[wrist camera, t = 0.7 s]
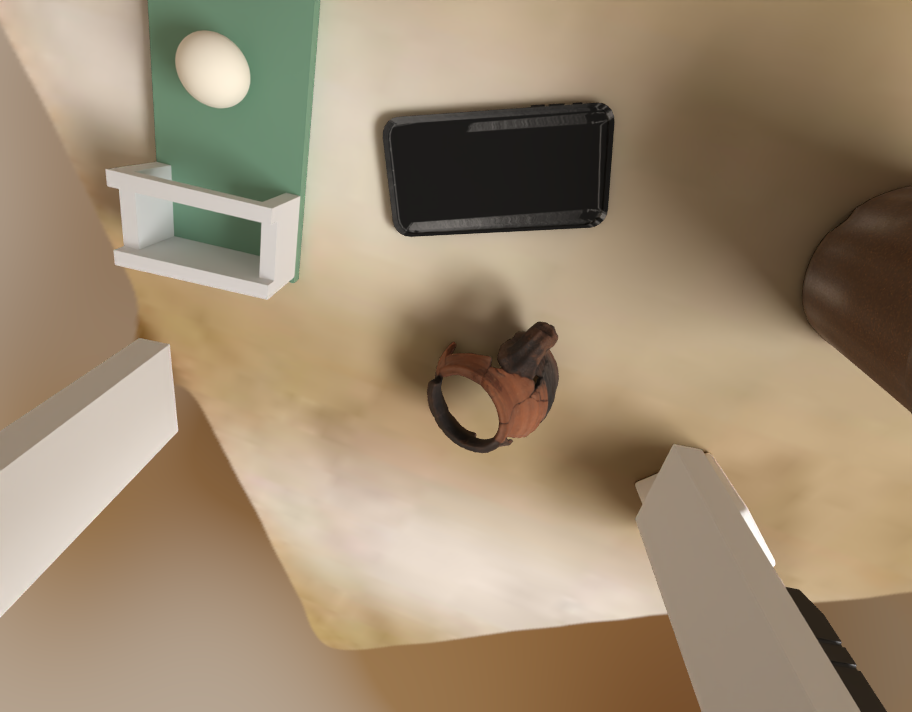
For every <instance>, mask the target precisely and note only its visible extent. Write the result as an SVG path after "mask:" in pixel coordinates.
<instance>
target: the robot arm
mask: <svg viewBox="0 0 912 712" xmlns="http://www.w3.org/2000/svg"><path fill="white" fill-rule="evenodd" d="M177 425H178V424H177V415H176V404H175V395H174V384H173V374H172V364H171V354H170V344H166V343H161V342H156V341H151V340H146V339H141V338H139V339H137V340H136V341H134V342H133V343H131V344H130V345H128V346H127V347H125V348H124V349H122V350H121V351H119V352H118V353H116V354H115V355H113V356H112V357H111V358H109V359H107V360H106V361H104V362H103V363H101V364H100V365H98V366H97V367H95V368H94V369H92V370H91V371H89V372H88V373H86V374H85V375H83V376H82V377H80V378H79V379H77V380H76V381H74V382H73V383H71V384H70V385H68V386H67V387H65V388H64V389H62V390H61V391H60V392H58V393H57V394H55V395H53V396H52V397H50V398H49V399H47V400H46V401H44V402H43V403H42V404H40V405H38V406H37V407H36V408H34V409H32V410H31V411H29V412H28V413H26V414H25V415H23V416H22V417H21V418H19V419H18V420H16V421H14V422H13V423H11V424H10V425H8V426H7V427H6V428H4V429H2V430H1V431H0V617H1V616H2V615H3V614H4V613H5V612H6V611H7V610H8V609H9V608H10V607H11V606H12V605H13V604H14V603H15V601H16V600H17V599H18V598H19V597H20V596H21V595H22V594H23V593H24V592H25V591H26V590H27V589H28V588H29V587H30V586H31V585H32V584H33V583H34V582H35V580H37V578H38V577H39V576H40V575H41V574H42V573H43V572H44V571H45V570H46V569H47V568H48V567H49V566H50V565H51V564H52V563H53V562H54V561H55V560H56V558H58V556H59V555H60V554H61V553H62V552H63V551H64V550H65V549H66V548H67V547H68V546H69V545H70V544H71V543H72V542H73V541H74V540H75V539H76V538H77V537H78V535H79V534H80V533H81V532H82V531H83V530H84V529H85V528H86V527H87V526H88V525H89V524H90V523H91V522H92V521H93V520H94V519H95V518H96V517H97V515H99V514H100V512H101V511H102V510H103V509H104V508H105V507H106V506H107V505H108V504H109V503H110V502H111V501H112V500H113V499H114V498H115V497H116V496H117V495H118V494H119V493H120V491H121V490H122V489H123V488H124V487H125V486H126V485H127V484H128V483H129V482H130V481H131V480H132V479H133V478H134V477H135V476H136V474H138V473H139V472H140V471H141V469H142V468H143V467H144V466H145V465H146V464H147V463H148V462H149V461H150V460H151V459H152V458H153V457H154V456H155V455H156V454H157V453H158V452H159V451H160V449H162V447H163V446H164V445H165V444H166V443H167V442H168V441H169V440H170V439H171V438H172V437H173V436H174V435H175V434H176V433H177V432H178V426H177ZM635 520H636V523H637V526H638V529H639V531H640V534H641V537H642V540H643V543H644V546H645V549H646V552H647V555H648V558H649V560H650V563H651V566H652V569H653V572H654V575H655V578H656V581H657V584H658V587H659V589H660V592H661V595H662V598H663V601H664V604H665V607H666V610H667V613H668V616H669V618H670V621H671V624H672V627H673V630H674V633H675V636H676V638H677V642H678V644H679V647H680V650H681V653H682V656H683V659H684V662H685V665H686V667H687V671H688V673H689V676H690V679H691V682H692V685H693V688H694V691H695V693H696V697H697V699H698V702H699V705H700V708H701V711H702V712H887V711H886V710H885V708H884V707H883V705H882V704H881V702H880V700H879V699H878V697H877V696H876V694H875V693H874V691H873V690H872V688H871V687H870V685H869V684H868V682H867V680H866V679H865V677H864V676H863V674H862V673H861V671H858V670H857V669H856V664H855V662H854V660H853V659H852V658H851V656H850V654H849V653H848V651H847V650H846V648H844V647H842V646H841V640H840V639H839V637H838V636H837V634H836V633H835V631H834V630H833V628H832V627H831V625H830V623H829V622H828V620H827V619H826V617H825V616H824V614H823V613H821V611H820V610H819V609H818V608H816V606H815V605H814V604H813V603H812V602H811V601H810V600H809V599H808V598H807V597H806V596H805V595H804V594H803V593H802V592H801V591H800V590H798V589H793V588H788V587H785V586H784V584H783V583H782V581H781V579H780V578H779V576H778V574H777V573H776V571H775V569H774V568H773V566H772V564H771V563H770V561H769V560H768V558H767V556H766V555H765V553H764V551H763V550H762V548H761V546H760V545H759V543H758V541H757V540H756V538H755V536H754V535H753V533H752V531H751V530H750V528H749V527H748V525H747V523H746V522H745V520H744V518H743V517H742V515H741V513H740V512H739V510H738V508H737V507H736V505H735V503H734V502H733V500H732V498H731V497H730V495H729V494H728V492H727V490H726V489H725V487H724V485H723V484H722V482H721V480H720V479H719V477H718V475H717V474H716V472H715V470H714V469H713V467H712V466H711V464H710V462H709V461H708V459H707V457H706V456H705V454H704V452H703V451H702V449H697V448H692V447H687V446H682V445H677V444H673V446H672V448H671V450H670V452H669V453H668V455H667V457H666V459H665V461H664V463H663V465H662V467H661V469H660V471H659V473H658V475H657V477H656V479H655V481H654V483H653V485H652V487H651V489H650V491H649V493H648V495H647V497H646V499H645V501H644V503H643V505H642V507H641V508H640V510H639V512H638V514H637V516H636V518H635Z"/></svg>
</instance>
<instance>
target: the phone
mask: <svg viewBox="0 0 912 712" xmlns="http://www.w3.org/2000/svg"><path fill="white" fill-rule="evenodd" d="M613 134H614V115H613V112H612V110H611V109H610V108H609V107H608V106H607V105H605V104H603V103H587V104H582V103H573V105H564V104H550V105H549V106H545V105H531V107H530V108H516V109H502V110H488V111H474V112H460V113H446V114H432V115H418V116H403V117H396V118H393V119H391V120H390V121H388V123H387V124H386V125H385V127H384V130H383V142H384V150H385V159H386V167H387V176H388V184H389V192H390V201H391V209H392V218H393V223H394V226H395V228H396V230H397V231H398V232H399V233H400V234H402V235H404V236H409V237H414V236H434V235H454V234H473V233H493V232H513V231H533V230H553V229H572V228H590V227H595V226H597V225H599V224H600V223H601V222H602V221H603V220H604V219H605V217H606V215H607V211H608V201H609V188H610V174H611V161H612V147H613Z"/></svg>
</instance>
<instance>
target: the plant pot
mask: <svg viewBox="0 0 912 712" xmlns="http://www.w3.org/2000/svg"><path fill="white" fill-rule="evenodd" d="M802 298H803V307H804V311H805V314H806V317H807V319H808V321H809V323H810V324H811V326H812V327H813V328H814V329H815V330H816V332H817V333H818V334H819V335H820V336H821V337H822V338H823V339H824V340H825V341H827V342H828V343H829V344H831V345H832V346H833V347H834V348H836V349H837V350H838V351H839V352H840V353H842V354H843V355H844V356H845V357H846V358H848V359H849V360H850V361H851V362H852V363H854V364H855V365H856V366H857V367H858V368H859V369H861V370H862V371H863V372H864V373H865V374H867V375H868V376H869V377H870V378H871V379H873V380H874V381H875V382H876V383H877V384H878V385H880V386H881V387H882V388H883V389H884V390H886V391H887V392H888V393H889V394H890V395H891V396H893V397H894V398H895V399H896V400H897V401H898V402H900V403H901V404H902V405H903V406H904V407H905V408H906V409H908V410H909V411H910V412H911V413H912V186H909V187H904V188H900V189H897V190H893V191H890V192H887V193H884V194H882V195H879V196H876V197H874V198H872V199H871V200H869V201H867V202H866V203H864V204H862V205H860V206H859V207H857V208H856V209H854V211H853V213H852V214H851V216H850V217H849V218H848V219H847V220H846V221H845V222H843V223H842V224H841V225H840V226H838V227H837V228H836V229H834V230H833V231H831V232H829V233H828V234H827V235H826V236H825V238H824V239H823V240H822V242H821V243H820V244H819V246H818V248H817V249H816V251H815V253H814V254H813V256H812V258H811V261H810V263H809V266H808V268H807V271H806V274H805V279H804V284H803V294H802Z"/></svg>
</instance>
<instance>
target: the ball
mask: <svg viewBox="0 0 912 712" xmlns="http://www.w3.org/2000/svg"><path fill="white" fill-rule="evenodd" d="M175 64H176V70H177V74H178V77H179V79H180V81H181V83H182V85H183V86H184V87H185V89H186V90H187V91H188V93H189V94H190V95H191V96H193V97H194V98H195V99H196V100H198V101H199V102H201V103H203V104H205V105H207V106H210V107H214V108H229V107H232V106H234V105H236V104H238V103H239V102H241V101H242V100H243V98H244V97H245V96H246V94H247V92H248V90H249V86H250V70H249V66H248V63H247V60H246V58H245V56H244V55H243V53H242V52H241V50H240V49H239V48H238V47H237V46H236V44H235V43H233V42H232V41H231V40H230V39H228V38H227V37H225V36H223V35H221V34H219V33H217V32H213V31H207V30H202V31H196V32H193V33H191V34H189V35H187V36H186V37H185V38H184V39H183V40H182V41H181V43H180V44H179V46H178V48H177V51H176V57H175Z"/></svg>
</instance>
